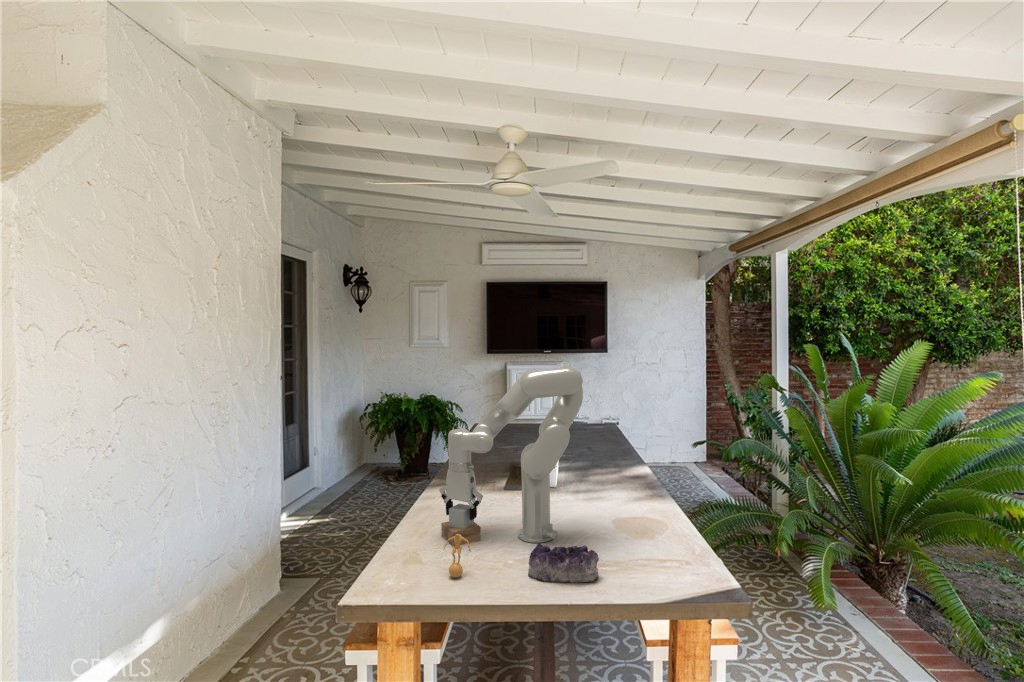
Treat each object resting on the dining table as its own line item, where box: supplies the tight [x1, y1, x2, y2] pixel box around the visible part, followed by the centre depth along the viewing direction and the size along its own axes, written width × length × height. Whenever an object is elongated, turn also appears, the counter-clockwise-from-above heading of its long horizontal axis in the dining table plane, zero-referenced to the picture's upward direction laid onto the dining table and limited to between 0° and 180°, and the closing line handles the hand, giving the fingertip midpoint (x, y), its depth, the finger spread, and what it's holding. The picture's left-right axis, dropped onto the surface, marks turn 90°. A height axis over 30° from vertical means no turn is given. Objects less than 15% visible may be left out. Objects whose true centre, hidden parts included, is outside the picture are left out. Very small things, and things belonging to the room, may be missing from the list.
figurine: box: [443, 534, 472, 579], centre depth 164 cm, size 8×6×12 cm
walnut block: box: [440, 521, 482, 547], centre depth 191 cm, size 10×10×5 cm
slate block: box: [448, 503, 475, 529], centre depth 190 cm, size 6×6×6 cm
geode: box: [527, 542, 600, 584], centre depth 162 cm, size 20×12×10 cm, turn 91°
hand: (461, 516), depth 190 cm, fingers open, 9 cm apart
